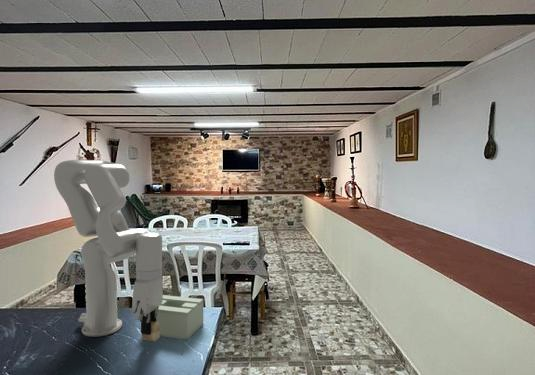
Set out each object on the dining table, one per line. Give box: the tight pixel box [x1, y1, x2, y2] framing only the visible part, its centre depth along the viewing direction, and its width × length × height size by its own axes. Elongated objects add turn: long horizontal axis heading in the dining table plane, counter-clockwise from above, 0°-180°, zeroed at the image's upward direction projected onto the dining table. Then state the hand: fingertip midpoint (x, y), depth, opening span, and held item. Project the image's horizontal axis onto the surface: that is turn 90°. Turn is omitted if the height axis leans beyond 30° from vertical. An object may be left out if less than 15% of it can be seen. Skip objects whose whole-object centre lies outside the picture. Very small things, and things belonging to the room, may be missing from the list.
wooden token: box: [141, 321, 160, 342], centre depth 109 cm, size 4×2×5 cm, turn 76°
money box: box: [144, 294, 204, 341], centre depth 121 cm, size 16×12×9 cm
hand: (148, 331), depth 109 cm, fingers closed on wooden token, 2 cm apart
